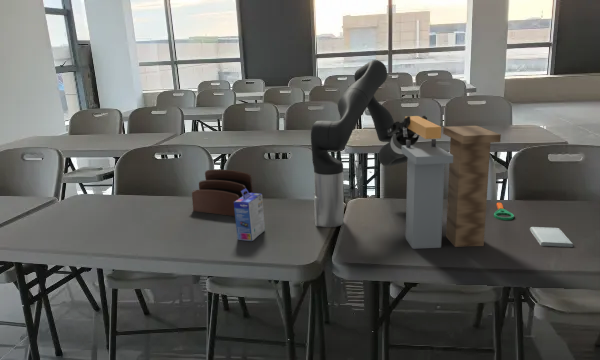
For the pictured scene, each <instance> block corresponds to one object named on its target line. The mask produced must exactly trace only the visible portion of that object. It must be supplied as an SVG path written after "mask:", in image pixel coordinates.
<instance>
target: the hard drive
mask: <svg viewBox="0 0 600 360" xmlns="http://www.w3.org/2000/svg"><path fill="white" fill-rule="evenodd" d="M529 231H530V232H531V234H532V235H533V237H534V238H535V240H536V241H537V243H539V245H540V246H541V247H542V246H543V247H561V248H562V247H564V248H565V247H566V248H572V247H574V244H573V242H572V241H571V240H570V238H569V237H567V236H566V234H565V233H564V232H563V231H562V230H561V228H558V227H544V226H543V227H542V226H540V227H539V226H531V227H530V228H529Z"/></svg>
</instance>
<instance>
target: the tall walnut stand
mask: <svg viewBox="0 0 600 360" xmlns="http://www.w3.org/2000/svg"><path fill="white" fill-rule="evenodd" d="M442 132H443V135H445V136H446V137H449V138H450V143H449V153H450V154H452V155H453V163H448V186H447V205H446V207H447V208H446V209H447V210H446V225H445V226H446V229H445V230H446V231H445V237H446V238H447V239H448V240H449V242H450V243H451V244H452V245H453V246H454V247H456V248H457V247H458V248H460V247H484V244H485V231H486V230H485V229H486V215H487V214H486V213H487V200H488V185H489V174H490V173H489V172H490V171H489V170H490V156H491V144H492V143H501V138H502V135H501V134H500V133H498V132H495V131H493V130H489V129H486V128H484V127H481V126H479V125H460V126H459V125H458V126H457V125H455V126H443V131H442Z"/></svg>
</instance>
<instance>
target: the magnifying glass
mask: <svg viewBox="0 0 600 360" xmlns="http://www.w3.org/2000/svg"><path fill="white" fill-rule="evenodd" d="M495 205H496V208H497V210H496V211H495V212H494V213H493V217H494V218H495V219H496V220H500V221H512V220H513V219H514V216H515V214H513V213H512V212H510V211H508V210H507V209H505V208H504V205H503V203H502V202H497V203H496V204H495ZM499 215H502V216H499ZM503 215H504V216H508V217H503Z"/></svg>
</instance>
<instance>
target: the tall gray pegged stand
mask: <svg viewBox="0 0 600 360" xmlns="http://www.w3.org/2000/svg"><path fill="white" fill-rule="evenodd" d="M401 152H402V153H403V154H404V155H405V156H406V157H408V160H407V162H406V163H407V168H406V170H407V171H406V205H405V208H406V209H405V211H406V212H405V240H406V241H407V243H408V244H409V246H410V248H411V249H413V250H414V249H416V250H417V249H440V248H442V235H443V234H442V231H443V212H444V210H443V209H444V186H445V168H446V167H445V165H446V164H449V163H453V155H452V154H450V152H449V151H446V150H445V149H443V148H441V147H440V146H438V145H437V139H431V144H415V145H411V140H406V145H404V146H402V150H401Z"/></svg>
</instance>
